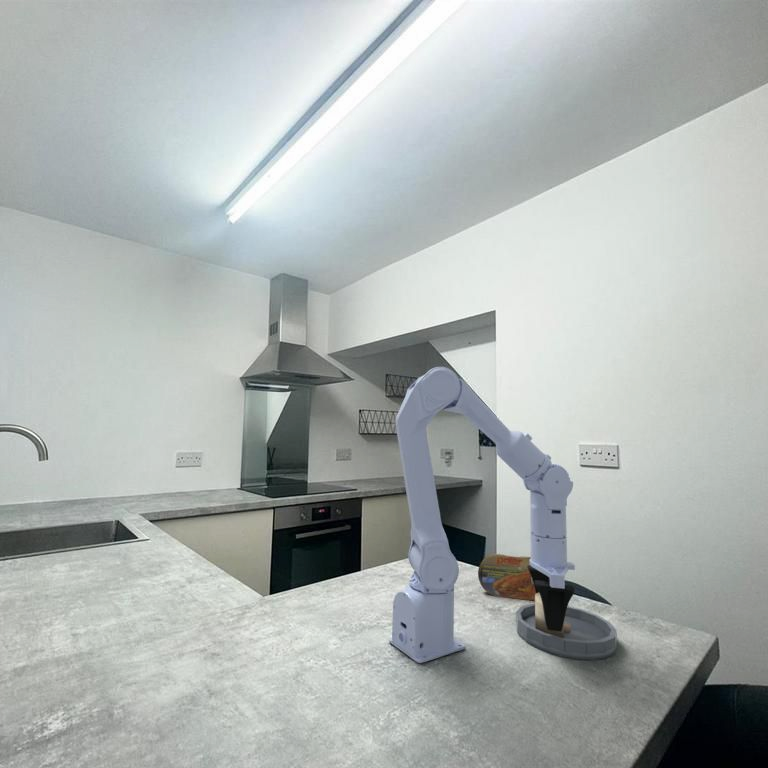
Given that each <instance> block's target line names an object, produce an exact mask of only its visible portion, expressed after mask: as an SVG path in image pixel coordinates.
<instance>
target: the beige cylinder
mask: <svg viewBox="0 0 768 768" xmlns="http://www.w3.org/2000/svg"><path fill="white" fill-rule="evenodd" d="M534 604H535V629H538V630H540V631H542V632H544V633H547V634H550V635H554V636H558V637H562V638H564V624H563V628H562V631H561V632H560V631H552V630H548V629H547V626H546V622H545V617H544V610H543V604H542V600H541V596H540V593H536V594H535V601H534Z"/></svg>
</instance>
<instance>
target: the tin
mask: <svg viewBox="0 0 768 768" xmlns="http://www.w3.org/2000/svg"><path fill="white" fill-rule="evenodd" d="M530 559H531V556H525V555H511V554H501V553H492V554H489V555H487V556H486V557H484V558H483V559H482V561H481V562H480V563H479V567H478V571H477V578H478V581H479V583H480V585H481V587H482V588H483V590H484V591H485V592H486V593H487V594H489V595H490V596H493V597H498V598H507V599H514V600H515V599H516V600H524V601H531V602H532V601H534V602H535V594H536V593H535V588H534V583H533V580H532V577H531V574H530V572H529V570H528V568H527V566H528V565H530Z"/></svg>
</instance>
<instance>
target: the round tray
mask: <svg viewBox="0 0 768 768" xmlns="http://www.w3.org/2000/svg"><path fill="white" fill-rule="evenodd" d="M515 623H516V624H515V625H516V632H517V634H518V636H519V637H520V638H521V639H522V640H523V641H524V642H526V643H527V644H529V645H530V646H532V647H533V648H536V649H537V650H540V651H543V652H545V653H546V654H547V653H548V654H551V655H554V656H558V657H561V658H565V659H570V660H571V659H572V660H580V661H600V660H604V659H608V658H611V657H612V656H614V655H615V654H616V652H617V642H618V631H617V629H616V628H615V626H614V625H613V624H612V623H611V622H610V621H609V620H607V619H605V618H603V617H601V616H600V615H598V614H596V613H593V612H590V611H587V610H585V609H582V608H578V607H575V606H570V605H568V606H567V609H566V613H565V619H564V638H562V637H558V636H554V635H550V634H547V633H544V632H542V631H540V630H538V629H535V603H529V604H526V605H522V606H520V607H519V608H518V609H517V611H515Z"/></svg>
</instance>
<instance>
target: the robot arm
mask: <svg viewBox="0 0 768 768" xmlns="http://www.w3.org/2000/svg"><path fill="white" fill-rule="evenodd" d="M441 410H443V411H445V412H451V413H457V414H460V415H463V416H464V417H465V419H467V420H468V421H470V423H471V424H473V425H474V426H475V427H476V428H477V429H479V430H480V432H481V433H483V434H484V435H485V436H487V438H489V439H490V440H491V441H492V442H493V443H494V444H495V451H496V452H495V453H496V455H497V456H498V457H499V458H500V460H502V461H503V462H504V463H505V464H506V465H508V467H510V469H511V470H512V471H513V472H514V473H516V474H517V476H519V477H520V478H521V479H522V481H523V485H524V487H525V489H526V490H528V491H529V497H530V498H529V499H530V501H529V505H530V506H529V511H530V513H529V514H530V515H529V517H530V519H529V520H530V557H531V559H530V565H528V566H527V568H528V570H529V572H530V574H531V577H532V580H533V583H534V588H535V593H540V596H541V600H542V604H543V610H544V617H545V622H546V626H547V629H548V630H552V631H560V632H561V631H562V628H563V624H564V619H565V613H566V609H567V606H569V603H570V600H571V599H572V598H573V596H574V594H575V592H576V591H575V588H574V586H573V585H567V584H566V583H565V582H566V580H565V579H566V574H567V573H568V571H569V570H573V571H575V570H576V565H575V564H574V563H573V562H570V561H568V550H567V549H568V548H567V547H568V546H567V541H568V540H567V537H568V536H567V505H568V504H567V503H568V502H567V500H568V497H569V496H570V494H571V493H572V491H573V487H574V481H572V480H571V478H570V476H569V475H570V474H569V472H568V471H567V470H566V469H565V468H564V467H563V466H561V465H559V464H553V463H552V461H551V459H552V457H551V456H550V455H549V454H548V453H544V452H543V451H541V449H539V448H538V446H537V445H536V444H534V443H533V442H532V440H533V437H532V436H531V435H530V434H529V433H523V432H522V431H520V430H510V429H509V428H508V427H507V426H506V425H505V423H503V421H501V420H500V419H499V417H497V415H496V414H495V413H494V412H493V411H492V410H491V409H490V408H489V406H488V405H486V404H485V403H484V401H483V400H482V399H480V397H479V396H478V395H477V394H476V393H475V392H474V391H473V389H472V388H471V387H470V385H469V384H468V383H467V382H466V381H465V380H464V379H462V378H460V377H458V375H457V373H455V372H454V371H453V370H452V369H450V368H448V367H446V366H436V367H433V368H431V369H429V370H428V371H427V372H426V373H425V374H423V375H421V376H418V378H417V379H415V381H413V383H412V384H411V385H410V386H409V387H408V388H407V390H406V394H405V397H404V398H403V401H402V403H401V405H400V407H399V409H398V413H397V415H396V417H395V430H396V435H397V442H398V447H399V453H400V454H399V455H400V461H401V465H402V466H401V467H402V472H403V473H402V474H403V479H404V480H403V481H404V487H405V492H406V497H407V505H408V511H409V516H410V517H409V518H410V523H411V527H410V533H409V534H410V541H411V543H410V546H409V550H408V562H409V565H410V566H411V568H412V569H413V572H412V575H411V576H410V578H409V582H408V583H409V584H408V585H407V587H406V588H405V589H403V590H401V591H399V592H397V593H396V594H395V596H394V599H393V604H392V622H391V623H392V627H391V629H392V631H391V637H390V638H389V639H388V641H389V643H390V644H392V645H393V647H394V646H395V647H396V648H397V649H398V650H400V651H401V652H402V653H404V654H405V655H407V656H408V657H409V658H411V659H412V660H413V661H414V662H416V663H419V664H423V663H425V662H429V661H431V660H434V659H435V660H436V659H437V658H438V659H439V658H441V657H444V656H447V655H450V654H454V653H456V652H459V651H462V650H465V649H466V644H464V643H463V642H461V641H460V640H458V639H457V638H455V637H454V630H455V626H454V625H455V584H456V582H457V580H458V578H459V574H460V573H459V572H460V570H459V569H460V567H459V563H458V560H457V559H456V557H455V556H454V554H453V553H452V551H451V549H450V545H449V539H448V537H447V534H446V532H445V529H444V527H443V524H442V519H441V511H440V507H439V499H438V494H437V489H436V488H437V487H436V483H435V477H434V476H435V475H434V469H433V464H432V457H431V453H430V446H429V439H428V434H427V433H428V432H427V426H428V425H429V424H430V423H431V421H432V420H433V419H434V418H435V417H436V415H437V413H439V412H440V411H441Z"/></svg>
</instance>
